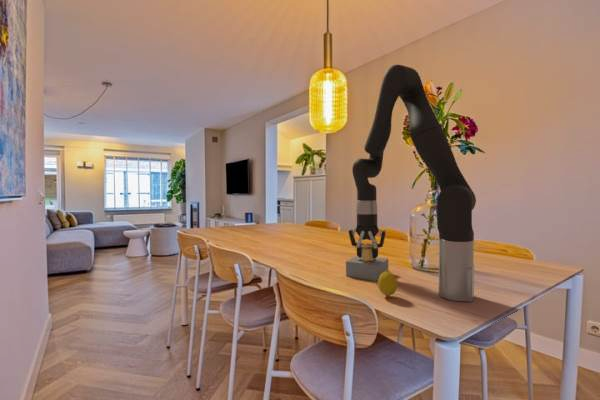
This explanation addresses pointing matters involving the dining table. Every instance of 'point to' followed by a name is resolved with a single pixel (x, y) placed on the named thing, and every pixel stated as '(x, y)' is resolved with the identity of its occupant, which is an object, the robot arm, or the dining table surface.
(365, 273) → the block
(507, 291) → the dining table surface
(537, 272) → the dining table surface
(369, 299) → the dining table surface
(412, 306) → the dining table surface
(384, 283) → the lemon
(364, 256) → the glass jar
